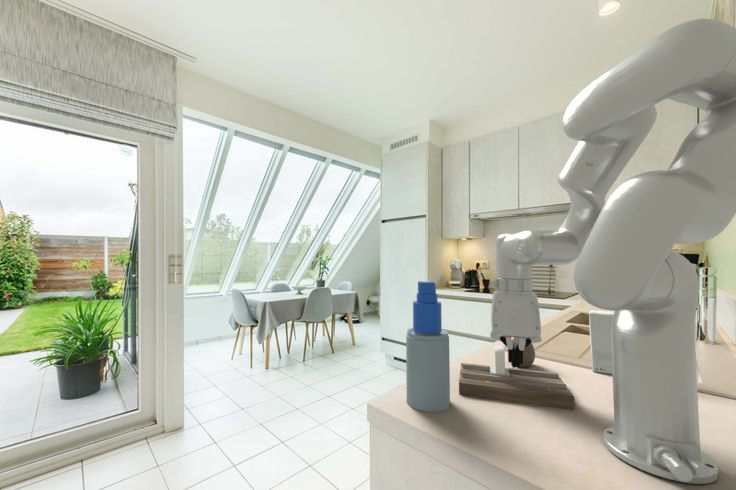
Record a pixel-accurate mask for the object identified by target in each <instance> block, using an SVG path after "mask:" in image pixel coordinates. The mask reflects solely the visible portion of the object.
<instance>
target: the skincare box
mask: <svg viewBox="0 0 736 490" xmlns="http://www.w3.org/2000/svg"><path fill="white" fill-rule="evenodd" d="M588 312H589V315H588V316H589V317H588V319H589V322H588V323H589V342H590V356H591V369H592V370H591V371H592V372H595V373H600V374H605V375H610V376H611V375H612V350H611V327H612V320H613V316H614V312H615V311H610V310H593V309H592V310H589V311H588ZM612 376H613V375H612Z"/></svg>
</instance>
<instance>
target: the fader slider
mask: <svg viewBox="0 0 736 490" xmlns="http://www.w3.org/2000/svg"><path fill="white" fill-rule="evenodd" d="M505 353H506V351H505V348H504V347H503V345H495V344H494V345H493V365H489V366H490V375H495V376H504V377H510V373H509V370H508V368H509V367H506V354H505Z"/></svg>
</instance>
